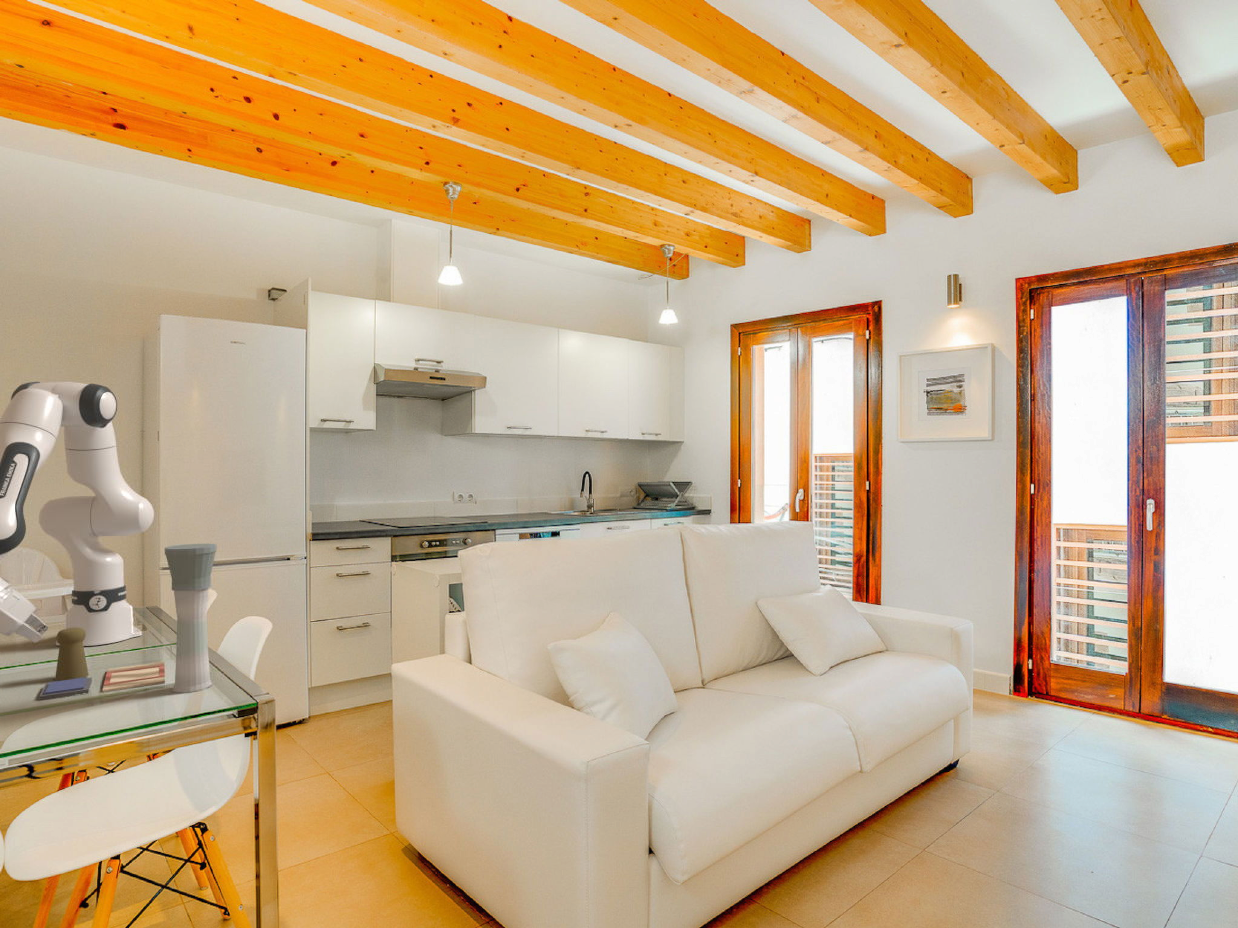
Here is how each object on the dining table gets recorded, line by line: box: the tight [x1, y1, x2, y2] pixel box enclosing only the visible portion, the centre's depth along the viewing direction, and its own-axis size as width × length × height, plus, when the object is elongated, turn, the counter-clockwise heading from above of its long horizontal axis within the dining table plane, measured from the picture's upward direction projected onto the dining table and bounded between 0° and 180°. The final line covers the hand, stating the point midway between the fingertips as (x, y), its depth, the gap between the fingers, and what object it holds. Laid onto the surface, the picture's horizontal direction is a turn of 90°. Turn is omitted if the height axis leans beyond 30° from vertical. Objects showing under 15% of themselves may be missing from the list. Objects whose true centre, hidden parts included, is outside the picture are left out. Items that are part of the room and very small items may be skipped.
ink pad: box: [38, 676, 93, 701], centre depth 152 cm, size 10×8×1 cm
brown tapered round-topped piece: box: [54, 627, 89, 682], centre depth 162 cm, size 6×6×11 cm
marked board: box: [102, 661, 166, 693], centre depth 161 cm, size 18×11×1 cm, turn 32°
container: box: [164, 543, 217, 694], centre depth 153 cm, size 10×10×30 cm
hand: (42, 635), depth 159 cm, fingers open, 8 cm apart
